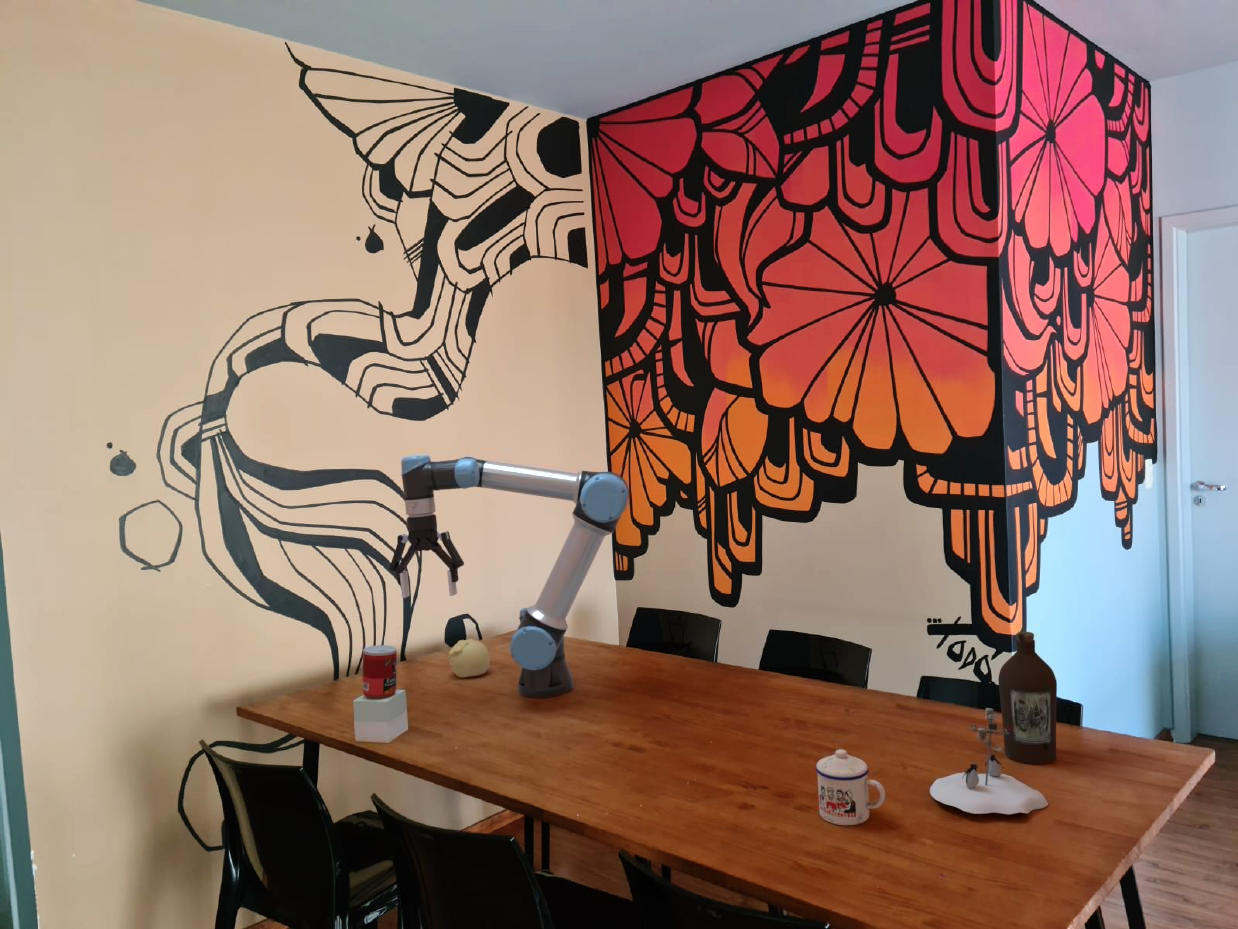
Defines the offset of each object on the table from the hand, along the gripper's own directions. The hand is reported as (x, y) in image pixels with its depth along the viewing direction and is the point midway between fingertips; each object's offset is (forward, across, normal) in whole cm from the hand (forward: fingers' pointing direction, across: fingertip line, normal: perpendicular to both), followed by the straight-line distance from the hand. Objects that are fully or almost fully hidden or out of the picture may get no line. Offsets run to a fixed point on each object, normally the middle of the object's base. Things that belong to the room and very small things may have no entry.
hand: (429, 596), depth 227 cm
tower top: (+25, -6, -18) cm, 32 cm away
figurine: (+34, +128, -39) cm, 138 cm away
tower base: (+30, -7, -18) cm, 36 cm away
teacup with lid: (+33, +104, -48) cm, 119 cm away
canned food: (+20, -6, -18) cm, 28 cm away
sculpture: (+31, -6, +31) cm, 44 cm away
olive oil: (+34, +139, -17) cm, 144 cm away
